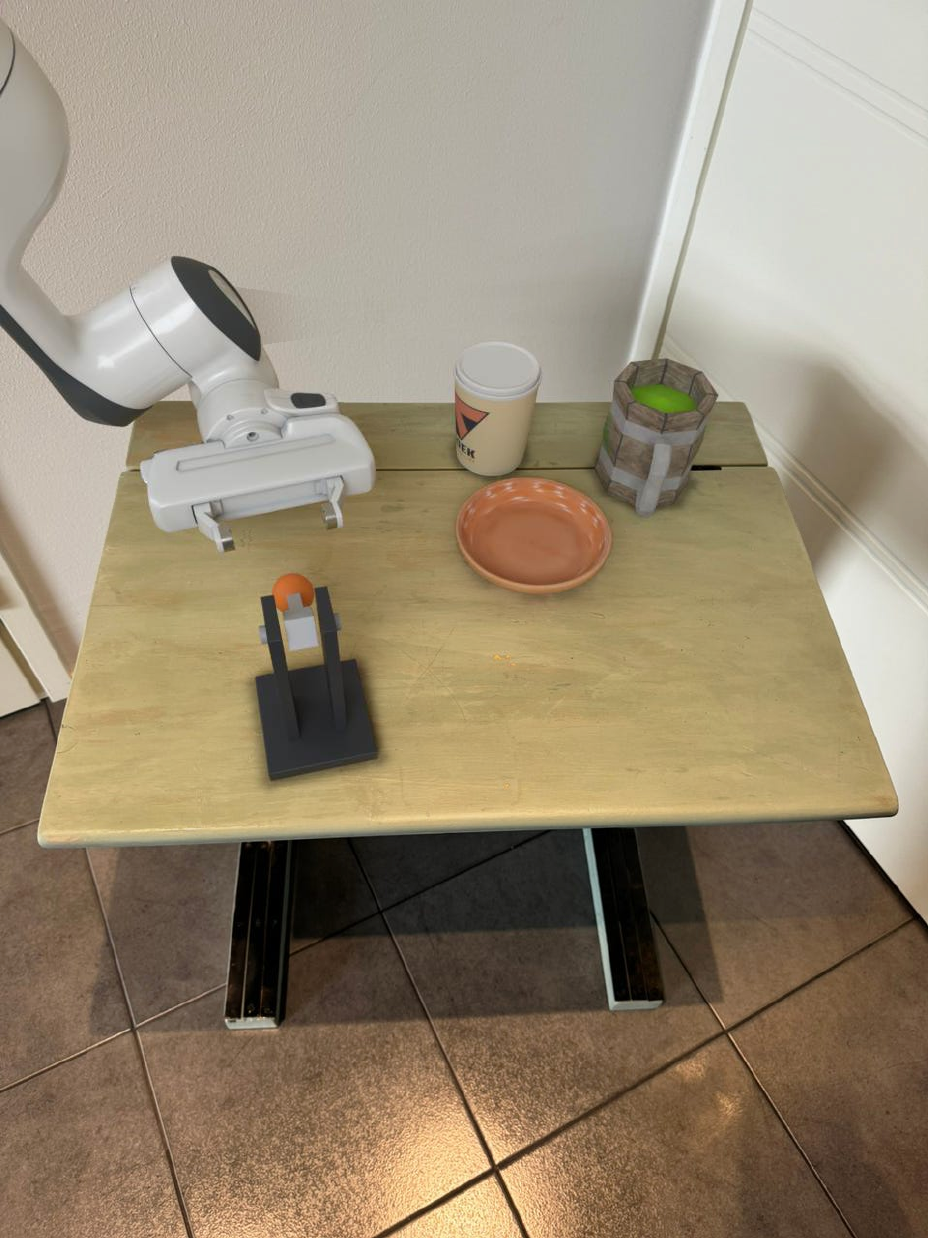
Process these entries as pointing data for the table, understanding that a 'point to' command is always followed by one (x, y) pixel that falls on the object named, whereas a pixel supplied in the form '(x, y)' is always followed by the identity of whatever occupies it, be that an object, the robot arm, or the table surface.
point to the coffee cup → (494, 405)
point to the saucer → (533, 535)
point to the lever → (296, 610)
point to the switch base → (311, 702)
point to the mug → (653, 432)
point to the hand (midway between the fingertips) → (281, 535)
